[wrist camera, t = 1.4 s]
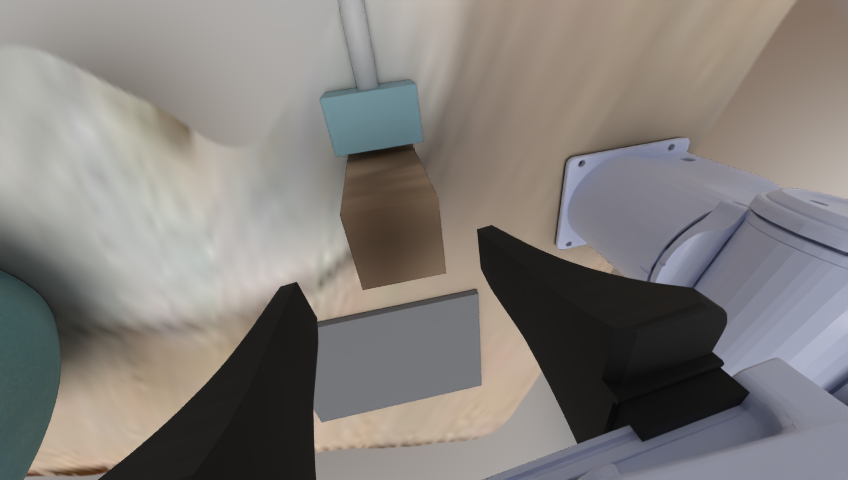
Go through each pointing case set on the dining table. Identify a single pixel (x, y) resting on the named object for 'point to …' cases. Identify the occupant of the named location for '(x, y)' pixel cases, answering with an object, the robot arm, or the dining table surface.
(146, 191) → the dining table surface
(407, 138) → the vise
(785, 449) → the robot arm
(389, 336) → the rubber mat
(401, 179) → the walnut block
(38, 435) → the teal bowl
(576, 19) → the dining table surface
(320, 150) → the dining table surface
